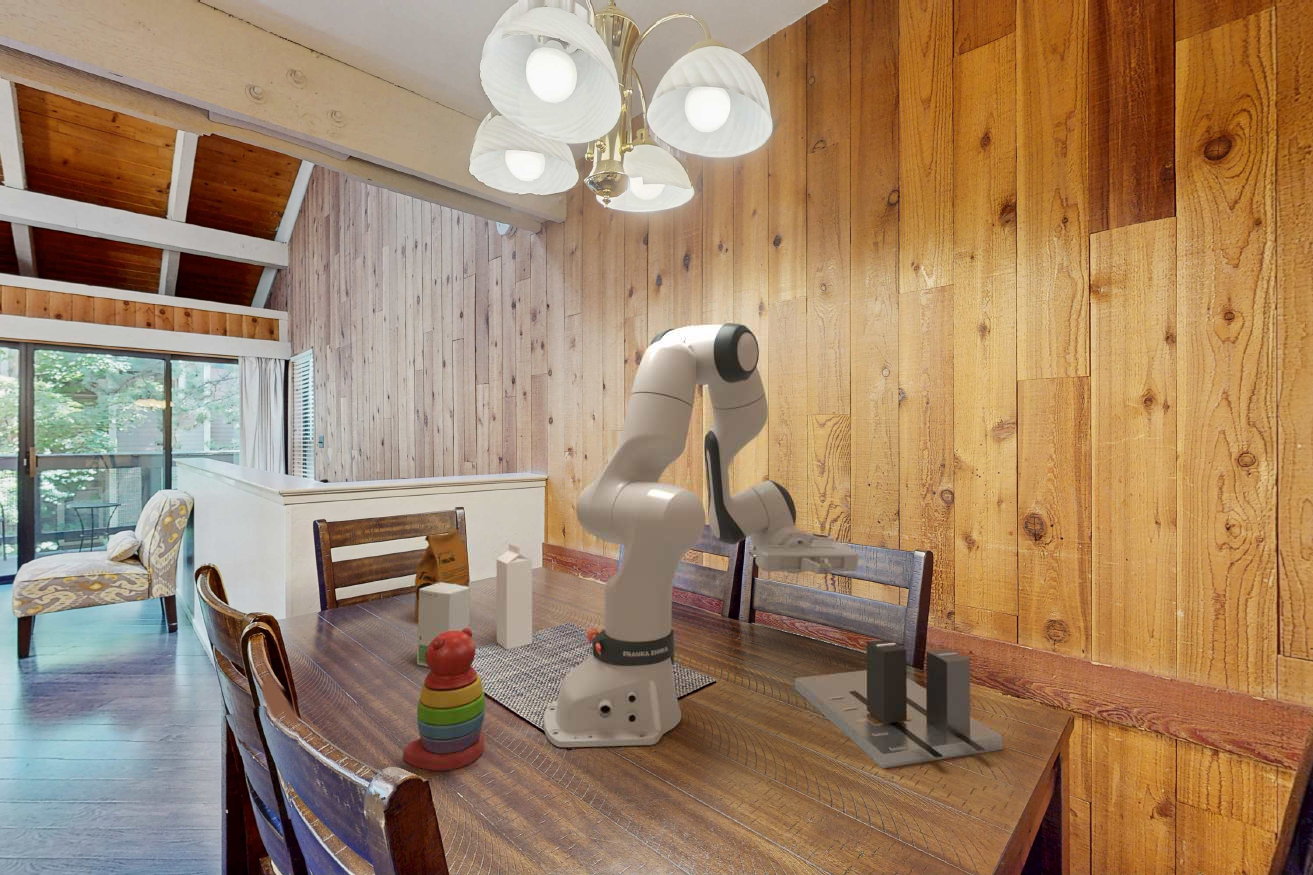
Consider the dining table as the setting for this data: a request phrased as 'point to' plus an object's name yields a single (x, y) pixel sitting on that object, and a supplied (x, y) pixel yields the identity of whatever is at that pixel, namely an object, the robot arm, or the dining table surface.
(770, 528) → the robot arm
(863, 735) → the console
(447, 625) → the skincare box
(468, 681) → the stacking bear
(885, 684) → the fader knob
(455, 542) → the coffee package
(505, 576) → the milk
